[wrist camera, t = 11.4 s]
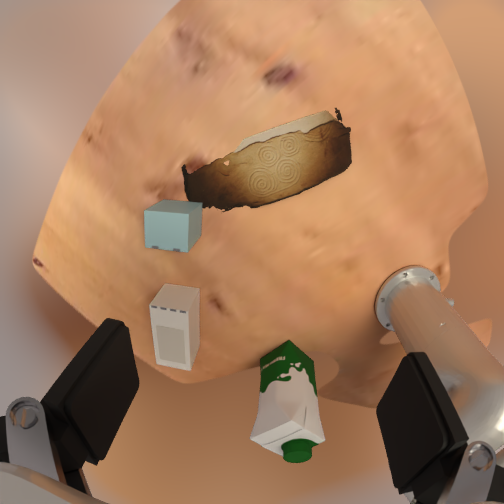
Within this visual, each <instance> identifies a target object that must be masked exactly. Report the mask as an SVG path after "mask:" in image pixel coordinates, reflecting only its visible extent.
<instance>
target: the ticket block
mask: <svg viewBox="0 0 504 504" xmlns="http://www.w3.org/2000/svg"><path fill="white" fill-rule="evenodd" d="M149 307H150V317H151V326H152V334H153V342H154V349H155V356H156V363H157V364H159V365H164V366H168V367H173V368H178V369H183V370H188V371H191V369H192V366H193V363H194V360H195V358H196V355H197V352H198V349H199V346H200V288H195V287H188V286H181V285H175V284H168V283H165V284H164V285H163V287H162V288H161V289H160V291H159V292H158V293H157V295H156V296H155V297H154V299H153V300H152V302H151V303H150V304H149Z"/></svg>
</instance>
